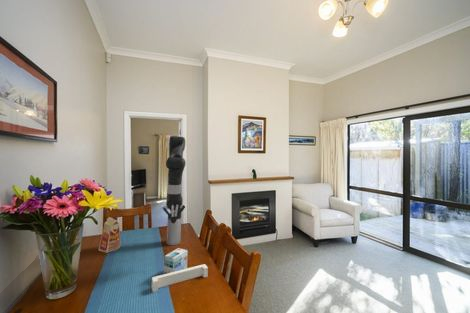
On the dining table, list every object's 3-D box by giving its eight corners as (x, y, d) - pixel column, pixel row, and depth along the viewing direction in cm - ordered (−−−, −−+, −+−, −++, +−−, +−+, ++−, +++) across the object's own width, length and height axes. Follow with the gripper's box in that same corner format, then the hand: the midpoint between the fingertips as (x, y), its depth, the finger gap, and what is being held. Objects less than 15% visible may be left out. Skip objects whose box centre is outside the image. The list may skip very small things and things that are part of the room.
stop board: (151, 287, 90) (152, 277, 90) (204, 272, 103) (204, 263, 104) (152, 292, 87) (153, 282, 87) (207, 276, 100) (208, 267, 100)
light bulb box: (173, 281, 95) (174, 258, 95) (163, 277, 98) (163, 255, 98) (187, 270, 105) (188, 250, 105) (177, 267, 108) (178, 247, 108)
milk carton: (98, 250, 124) (100, 218, 124) (112, 244, 132) (113, 214, 133) (108, 253, 121) (109, 220, 121) (121, 247, 129) (123, 216, 130)
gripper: (184, 190, 119) (182, 219, 119) (161, 191, 112) (159, 222, 112) (188, 192, 112) (186, 223, 112) (164, 194, 106) (162, 226, 105)
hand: (173, 222), depth 112 cm, fingers closed
